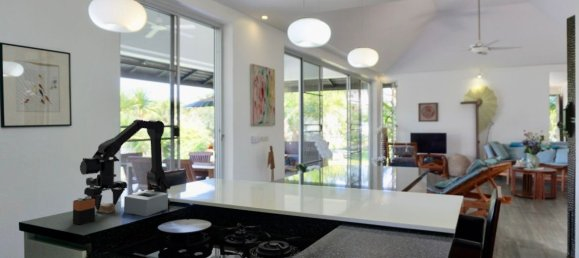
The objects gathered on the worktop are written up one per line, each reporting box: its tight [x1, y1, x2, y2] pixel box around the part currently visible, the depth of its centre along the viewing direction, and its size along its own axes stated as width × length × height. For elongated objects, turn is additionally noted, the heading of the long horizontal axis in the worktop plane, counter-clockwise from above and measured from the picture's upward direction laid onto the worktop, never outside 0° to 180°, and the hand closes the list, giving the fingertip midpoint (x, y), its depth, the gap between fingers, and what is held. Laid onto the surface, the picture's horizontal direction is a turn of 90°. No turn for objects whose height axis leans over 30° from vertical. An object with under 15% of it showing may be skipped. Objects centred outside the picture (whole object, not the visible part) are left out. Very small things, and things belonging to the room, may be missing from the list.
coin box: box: [123, 189, 169, 217], centre depth 173 cm, size 14×12×7 cm
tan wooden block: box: [96, 202, 116, 214], centre depth 170 cm, size 4×6×3 cm, turn 71°
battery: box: [72, 195, 96, 225], centre depth 153 cm, size 4×7×10 cm, turn 154°
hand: (106, 207), depth 170 cm, fingers open, 9 cm apart
